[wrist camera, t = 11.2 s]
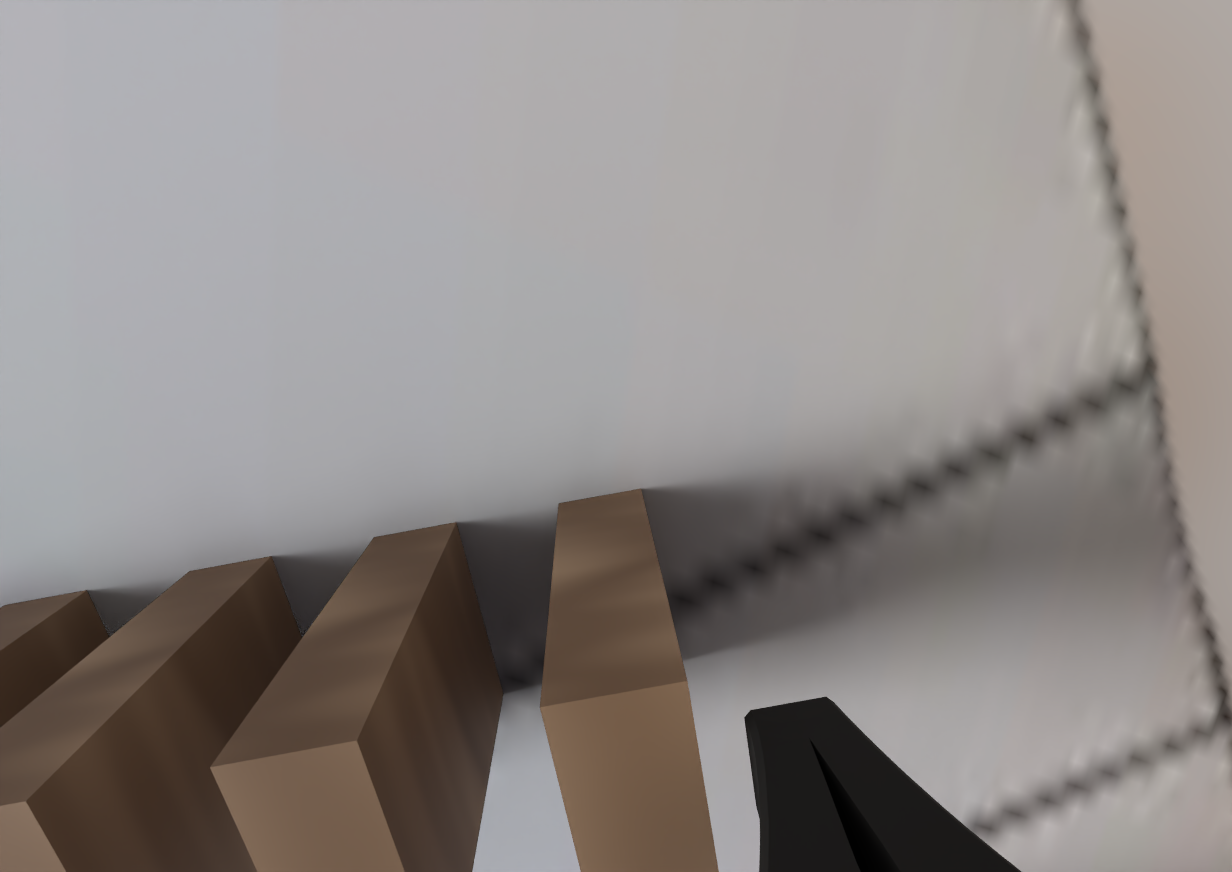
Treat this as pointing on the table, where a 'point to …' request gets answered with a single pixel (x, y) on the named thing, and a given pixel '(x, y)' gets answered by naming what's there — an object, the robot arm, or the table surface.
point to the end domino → (620, 697)
